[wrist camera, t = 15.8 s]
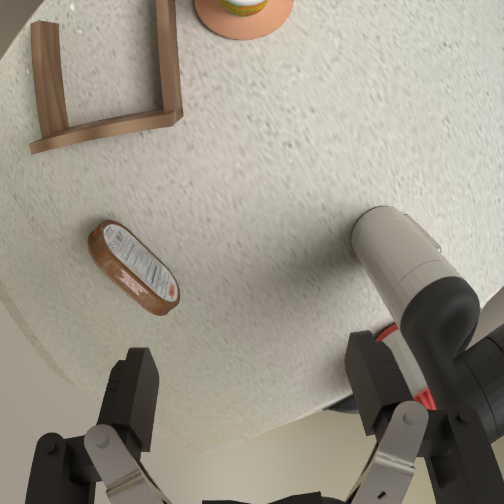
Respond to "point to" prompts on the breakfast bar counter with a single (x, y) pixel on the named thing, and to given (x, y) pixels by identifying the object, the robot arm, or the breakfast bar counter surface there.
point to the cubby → (61, 135)
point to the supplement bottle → (243, 7)
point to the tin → (133, 268)
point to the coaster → (243, 19)
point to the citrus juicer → (407, 366)
